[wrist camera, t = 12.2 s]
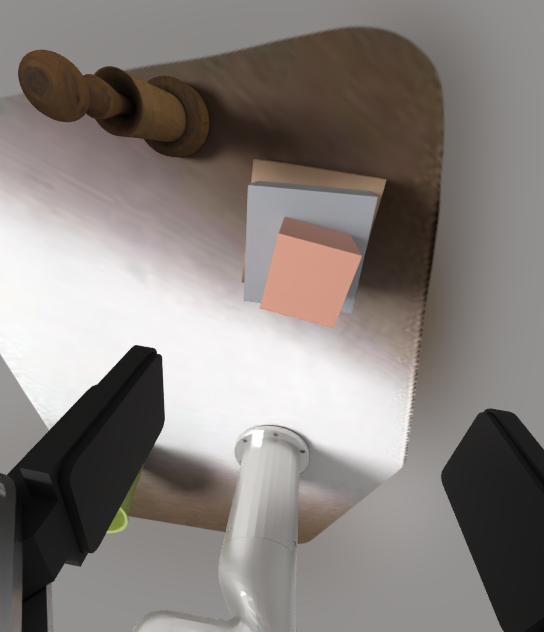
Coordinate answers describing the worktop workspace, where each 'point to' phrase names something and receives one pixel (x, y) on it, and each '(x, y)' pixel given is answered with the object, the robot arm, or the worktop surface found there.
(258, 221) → the upper block
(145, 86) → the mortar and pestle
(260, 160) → the lower block
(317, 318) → the pink cube
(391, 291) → the worktop surface
